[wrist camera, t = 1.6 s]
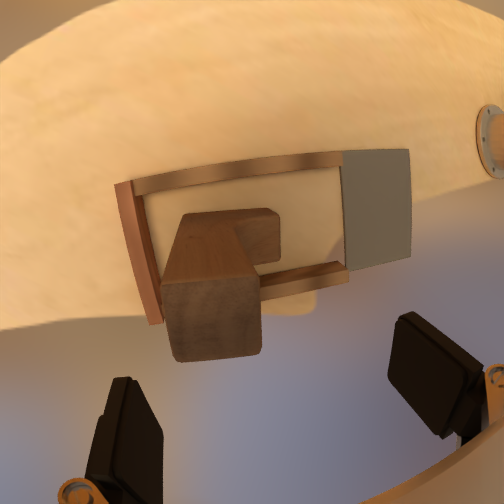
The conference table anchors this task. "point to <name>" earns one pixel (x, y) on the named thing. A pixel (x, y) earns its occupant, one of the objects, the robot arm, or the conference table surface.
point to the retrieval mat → (376, 206)
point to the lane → (134, 189)
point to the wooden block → (218, 283)
